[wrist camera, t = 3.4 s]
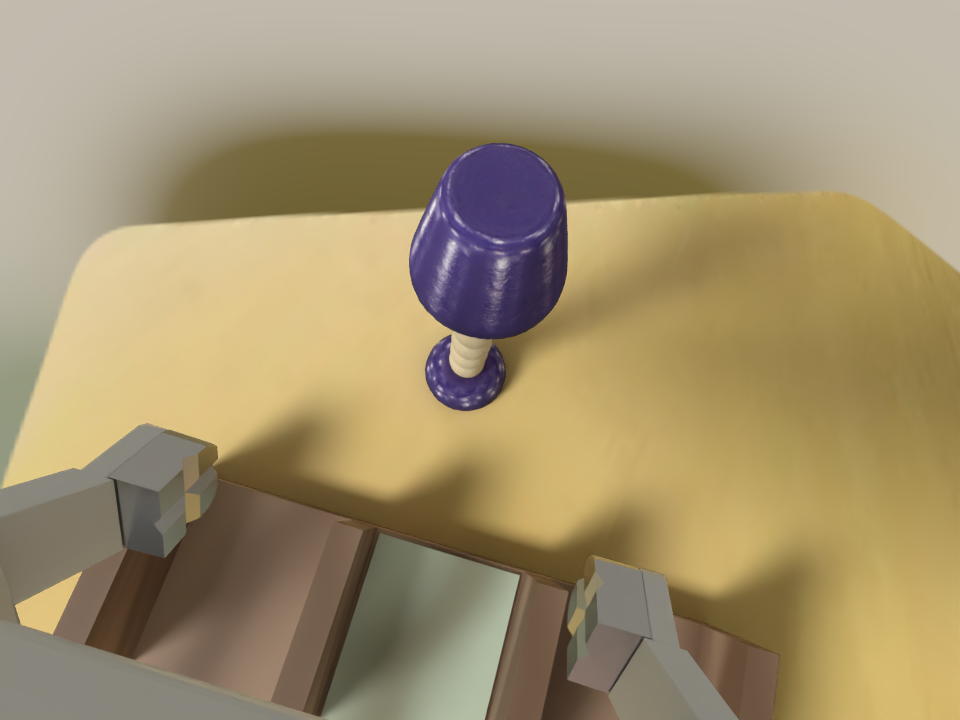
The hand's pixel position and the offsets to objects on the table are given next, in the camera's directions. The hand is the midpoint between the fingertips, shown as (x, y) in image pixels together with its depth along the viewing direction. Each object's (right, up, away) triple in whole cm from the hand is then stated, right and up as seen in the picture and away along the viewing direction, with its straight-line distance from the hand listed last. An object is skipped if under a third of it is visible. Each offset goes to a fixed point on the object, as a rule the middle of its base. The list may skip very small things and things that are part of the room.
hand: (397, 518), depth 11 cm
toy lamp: (+1, +2, +17) cm, 17 cm away
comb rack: (-1, -9, +13) cm, 16 cm away
